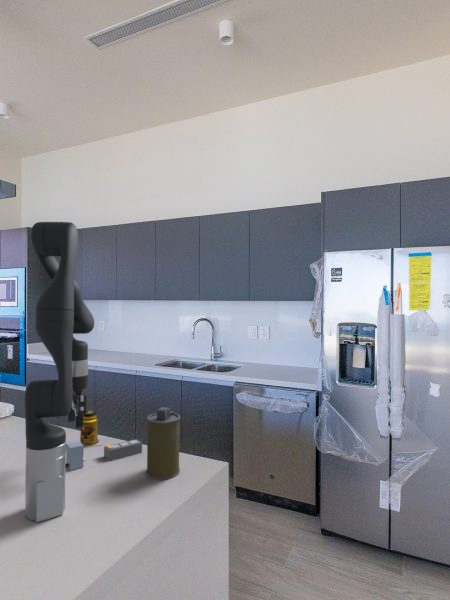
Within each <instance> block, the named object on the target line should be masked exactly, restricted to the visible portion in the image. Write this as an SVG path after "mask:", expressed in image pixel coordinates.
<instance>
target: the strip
mask: <svg viewBox="0 0 450 600" xmlns="http://www.w3.org/2000/svg"><path fill="white" fill-rule="evenodd" d="M139 454H143V442H141V441H140V440H139V439H131V440H126V441H123V442H117V443H114V444H113V443H112V444H109V445H105V446H103V457H104V458H105V460H107V461H108V462H111V461H115V460H119V459H123V458H127V457H131V456H135V455H139Z"/></svg>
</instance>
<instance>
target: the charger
mask: <svg viewBox="0 0 450 600" xmlns="http://www.w3.org/2000/svg"><path fill="white" fill-rule="evenodd" d="M86 461H87V459H86V457H84V448H83V444H82V443H81V442H80V441H78V440H76V441H73V442H68V443H66V461H65V468H66V467H67V469H68V470H69V471H73V470H76V469H81V468H83V467H84V462H86Z"/></svg>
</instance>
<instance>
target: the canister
mask: <svg viewBox="0 0 450 600" xmlns="http://www.w3.org/2000/svg"><path fill="white" fill-rule="evenodd" d="M180 419H181V416H180V414H178V413H176V411H171V407H165V406H164V407H163V406H161V407H160V408H158V409H157V410H156V412H155V413H151V414H149V415H148V416H147V417H146V420H147V439H146V440H147V441H146V442H147V444H146V445H147V446H146V447H147V449H146V451H147V452H146V455H147V456H146V460H147V463H146V464H147V465H146V472H145V473H146V476H148V477H149V478H151V479H154V480H167V479H172V478H174V477H176V476H178V475H179V474H180V471H181V470H180V422H181V421H180Z"/></svg>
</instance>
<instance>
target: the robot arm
mask: <svg viewBox="0 0 450 600" xmlns="http://www.w3.org/2000/svg"><path fill="white" fill-rule="evenodd" d="M30 240H31V245H32V249H33V250H34V253H35V255H36V256H37V257H36V258H37V259H38V261H39V263H40V265H41V266H42V268H43V270H44V272H45V274H46V276H47V278H48V279H49V281H50V282H49V284H48V285H47V286H46V287H45V289H44V290H43V292H42V293H41V294H40V296H39V298H38V300H37V302H36V305H35V323H34V324H35V325H34V327H35V331H36V333H37V336H38V338H39V339H40V340H41V343H42V344H43V345H44V347H45V348H46V350H47V351H48V353H49V354H50V356H51V358H52V360H53V362H54V365H55V367H56V371H57V372H56V373H57V376H58V377H57V378H58V379H41V380H32V381H30V382H29V383H28V384H27V386H26V388H25V393H24V415H25V416H24V417H25V418H24V419H25V487H24V488H25V492H24V493H25V499H24V500H25V501H24V505H25V506H24V507H25V508H24V509H25V510H24V512H25V513H24V514H25V515H24V516H25V518H27V520H29V521H34V522H35V523H40V522H43V521H46V520H49V519H53V518H55V517H58V516H62V515H63V514H64V510H65V509H66V467H65V464H66V446H67V433H66V430H65V429H64V428H63V427H60V426H58V425H54V424H52V423H50V422H48V421H46V420H45V419H44V418H56V417H57V418H58V417H59V418H60V417H66V416H67V422H69V423H70V422H75V423H74V425H75V426H74V427H75V428H76V429H79V428H81V427H83V415H84V414H86V411H87V395H86V394H83V390H85V389H88V388H89V360H88V357H89V355H88V354H89V353H88V352H89V346H88V345H89V344H88V342H86V341H83V340H79V339H76V338H75V336H74V335H75V334H81V335H82V334H83V335H85V334H86V335H87V334H90V333H91V332H92V331H93V329H94V328H95V319H94V315H93V314H92V313H91V310H90V309H89V308H88V306H87V304H85V302H84V298H83V295H82V291H81V287H80V285H79V283H78V282H77V281H76V279H75V278H76V269H77V260H78V259H77V258H78V251H79V249H78V248H79V233H78V228H77V226H76V225H75V224H74V223H73V222H69V221H39V222H38V221H37V222H34V224H33V225H32V227H31V230H30ZM56 257H60V260H59V262H58V261H57V259H56ZM73 334H74V335H73Z"/></svg>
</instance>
